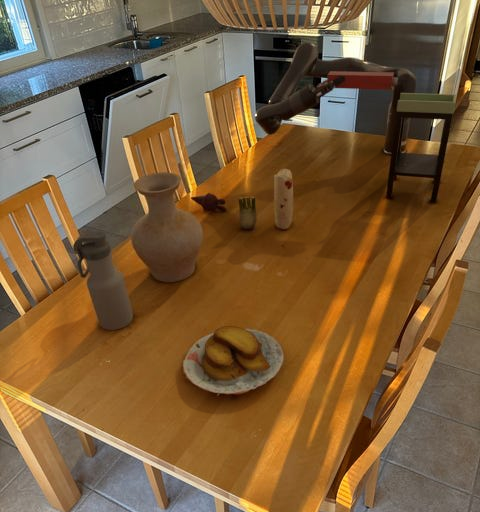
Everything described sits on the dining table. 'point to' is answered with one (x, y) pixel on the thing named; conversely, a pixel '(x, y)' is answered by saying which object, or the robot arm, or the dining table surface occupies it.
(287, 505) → the dining table surface
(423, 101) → the olive green shallow box
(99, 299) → the water bottle
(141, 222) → the vase
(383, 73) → the red bar
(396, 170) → the stand
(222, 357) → the food on plate
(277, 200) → the food model
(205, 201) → the icecream
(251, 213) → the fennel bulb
